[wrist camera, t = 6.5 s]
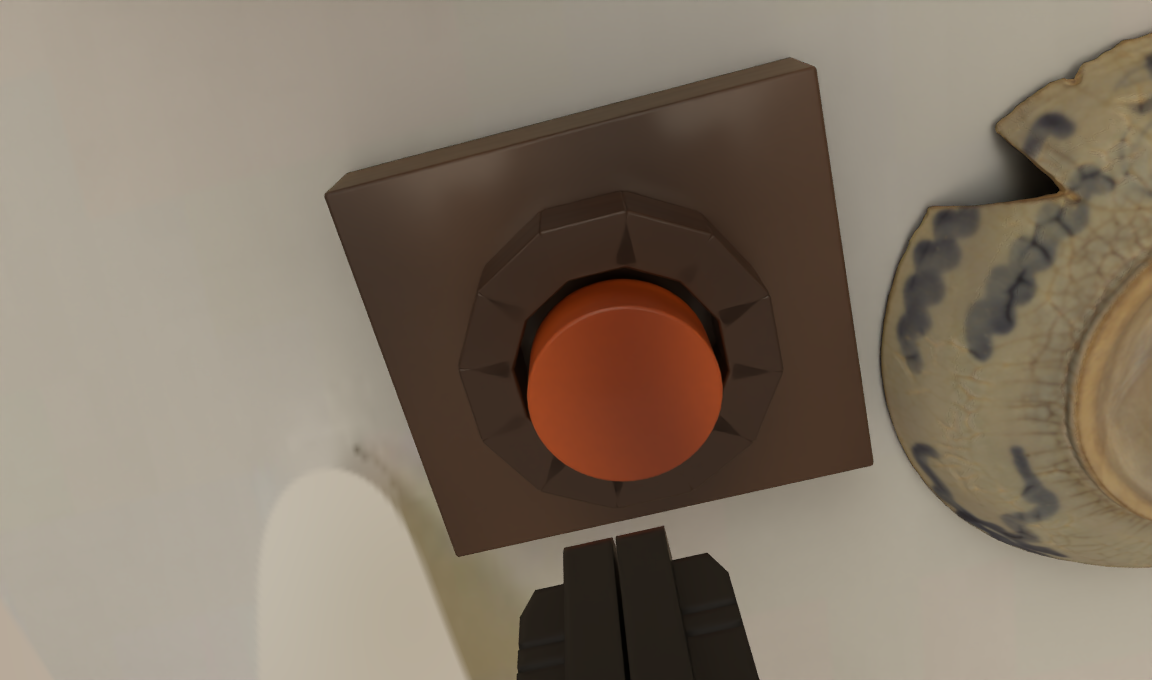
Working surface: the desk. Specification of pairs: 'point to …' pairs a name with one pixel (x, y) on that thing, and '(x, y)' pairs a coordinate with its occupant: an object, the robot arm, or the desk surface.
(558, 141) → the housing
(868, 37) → the desk surface
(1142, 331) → the decorative bowl
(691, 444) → the button
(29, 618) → the desk surface
